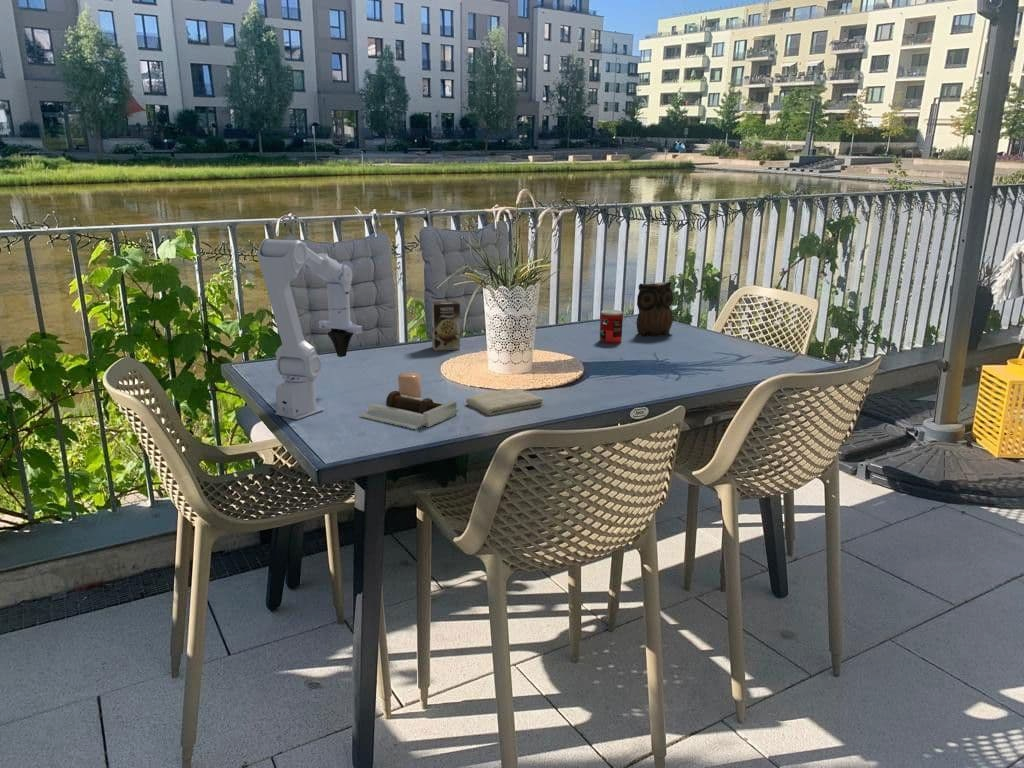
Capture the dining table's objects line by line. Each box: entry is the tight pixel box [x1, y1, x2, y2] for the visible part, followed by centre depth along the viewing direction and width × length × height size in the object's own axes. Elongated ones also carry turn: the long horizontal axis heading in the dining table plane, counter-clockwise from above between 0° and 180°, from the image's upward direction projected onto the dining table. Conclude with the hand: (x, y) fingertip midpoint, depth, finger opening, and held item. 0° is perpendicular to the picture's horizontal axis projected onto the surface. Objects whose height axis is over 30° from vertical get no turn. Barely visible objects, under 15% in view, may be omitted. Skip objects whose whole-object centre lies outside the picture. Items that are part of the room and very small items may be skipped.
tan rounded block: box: [397, 371, 422, 398], centre depth 206 cm, size 6×6×6 cm
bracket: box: [359, 394, 460, 431], centre depth 191 cm, size 18×20×4 cm
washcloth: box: [465, 387, 544, 416], centre depth 200 cm, size 12×18×3 cm, turn 123°
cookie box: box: [431, 300, 461, 352], centre depth 260 cm, size 9×6×16 cm
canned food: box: [599, 309, 624, 345], centre depth 273 cm, size 8×8×11 cm
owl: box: [636, 281, 675, 337], centre depth 284 cm, size 13×13×20 cm
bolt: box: [385, 390, 443, 414], centre depth 192 cm, size 6×5×15 cm
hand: (341, 356), depth 209 cm, fingers closed
